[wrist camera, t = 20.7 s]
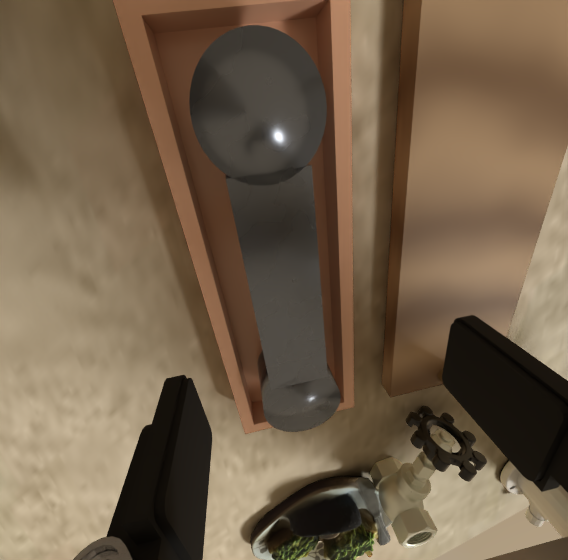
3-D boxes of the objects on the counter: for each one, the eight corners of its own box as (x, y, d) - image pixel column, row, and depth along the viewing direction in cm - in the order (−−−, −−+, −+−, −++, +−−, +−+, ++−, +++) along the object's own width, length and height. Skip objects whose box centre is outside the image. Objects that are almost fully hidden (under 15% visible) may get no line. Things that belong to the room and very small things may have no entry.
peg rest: (482, 359, 26) (553, 420, 21) (381, 383, 25) (427, 455, 20) (602, -71, 13) (883, -228, 8) (406, -57, 12) (562, -225, 7)
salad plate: (427, 495, 38) (451, 538, 34) (330, 559, 42) (342, 604, 38) (342, 451, 30) (360, 500, 26) (230, 535, 33) (230, 590, 29)
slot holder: (342, 381, 24) (354, 406, 22) (243, 405, 23) (245, 434, 21) (327, -3, 13) (349, -34, 10) (131, 15, 12) (108, -14, 9)
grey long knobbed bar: (324, 377, 23) (341, 420, 19) (263, 391, 22) (270, 439, 19) (296, 50, 13) (322, 17, 9) (186, 63, 12) (169, 33, 9)
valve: (401, 476, 34) (449, 406, 29) (437, 546, 28) (505, 472, 23) (352, 478, 32) (396, 403, 27) (380, 553, 26) (442, 475, 21)
